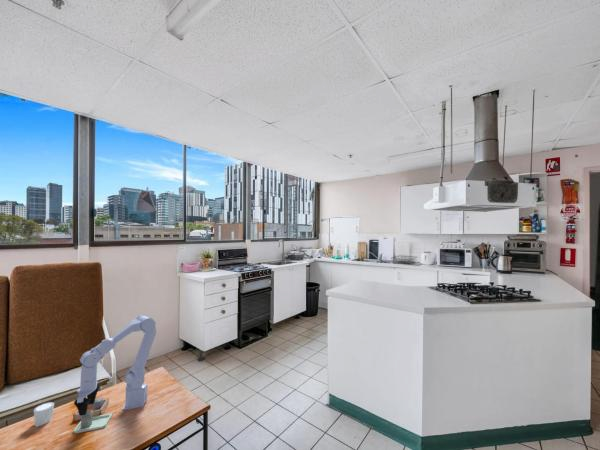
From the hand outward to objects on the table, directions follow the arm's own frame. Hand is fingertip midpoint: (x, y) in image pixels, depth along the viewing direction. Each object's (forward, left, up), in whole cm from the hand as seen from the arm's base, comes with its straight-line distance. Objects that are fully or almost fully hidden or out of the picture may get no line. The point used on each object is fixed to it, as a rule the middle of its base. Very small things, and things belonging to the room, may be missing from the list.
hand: (87, 409), depth 116 cm
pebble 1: (0, 0, -7) cm, 7 cm away
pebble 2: (-1, -10, -7) cm, 12 cm away
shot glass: (+20, -9, -8) cm, 23 cm away
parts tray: (-3, 0, -8) cm, 8 cm away
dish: (+2, -10, -8) cm, 12 cm away
